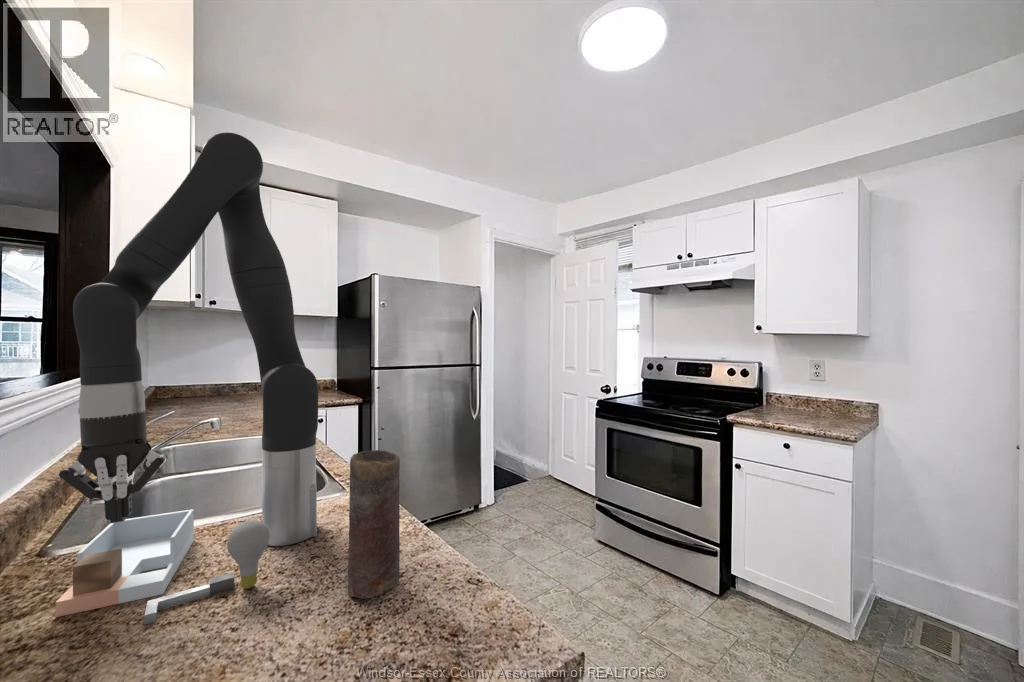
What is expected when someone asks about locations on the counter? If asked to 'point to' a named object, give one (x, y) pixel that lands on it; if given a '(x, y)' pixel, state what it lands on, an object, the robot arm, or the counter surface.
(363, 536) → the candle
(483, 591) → the counter surface
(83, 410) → the robot arm
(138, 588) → the cubby
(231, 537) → the light bulb
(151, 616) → the hook tool
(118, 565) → the walnut cube
